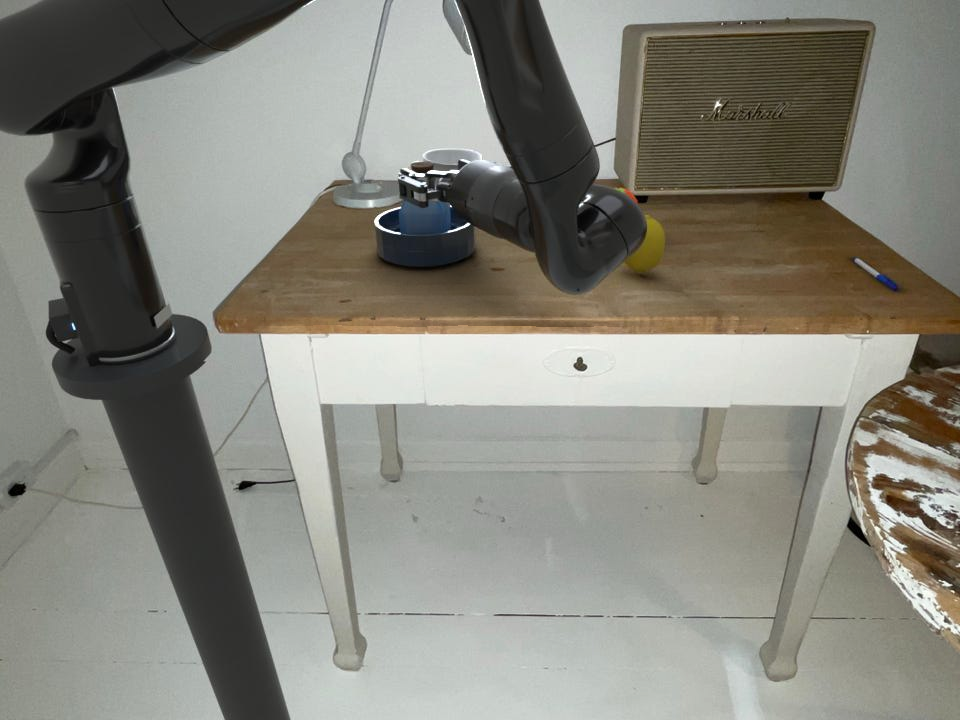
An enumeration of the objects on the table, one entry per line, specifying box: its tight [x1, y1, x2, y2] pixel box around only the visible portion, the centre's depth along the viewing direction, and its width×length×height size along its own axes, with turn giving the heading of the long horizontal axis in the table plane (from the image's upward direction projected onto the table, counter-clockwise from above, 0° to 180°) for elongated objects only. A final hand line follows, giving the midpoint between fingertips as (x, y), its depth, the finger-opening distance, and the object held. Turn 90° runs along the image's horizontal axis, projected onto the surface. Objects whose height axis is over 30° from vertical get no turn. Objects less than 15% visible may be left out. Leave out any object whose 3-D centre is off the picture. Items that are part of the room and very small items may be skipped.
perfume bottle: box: [399, 161, 451, 234], centre depth 89 cm, size 6×6×12 cm
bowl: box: [373, 205, 477, 268], centre depth 91 cm, size 14×14×5 cm
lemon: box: [624, 214, 666, 275], centre depth 82 cm, size 6×6×8 cm
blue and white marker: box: [852, 256, 899, 292], centre depth 82 cm, size 10×1×1 cm, turn 1°
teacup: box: [407, 147, 484, 185], centre depth 113 cm, size 14×11×8 cm
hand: (432, 171), depth 84 cm, fingers open, 8 cm apart
